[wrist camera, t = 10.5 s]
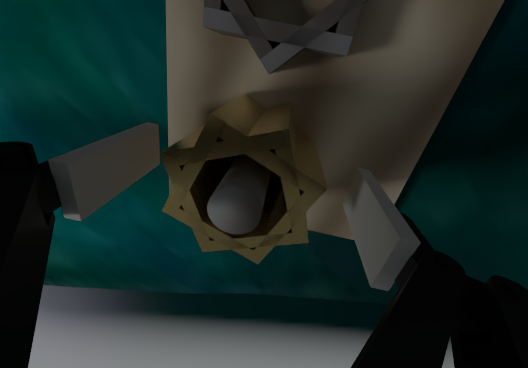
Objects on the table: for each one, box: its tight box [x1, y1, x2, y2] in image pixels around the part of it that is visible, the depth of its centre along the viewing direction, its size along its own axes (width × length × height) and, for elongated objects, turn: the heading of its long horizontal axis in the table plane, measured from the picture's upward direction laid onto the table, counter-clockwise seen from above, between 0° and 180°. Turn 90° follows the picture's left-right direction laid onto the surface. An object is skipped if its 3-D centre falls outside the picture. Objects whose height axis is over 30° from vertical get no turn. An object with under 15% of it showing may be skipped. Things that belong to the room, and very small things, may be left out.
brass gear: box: [159, 94, 327, 264], centre depth 14 cm, size 8×8×7 cm
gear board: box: [166, 0, 504, 240], centre depth 12 cm, size 18×22×10 cm
